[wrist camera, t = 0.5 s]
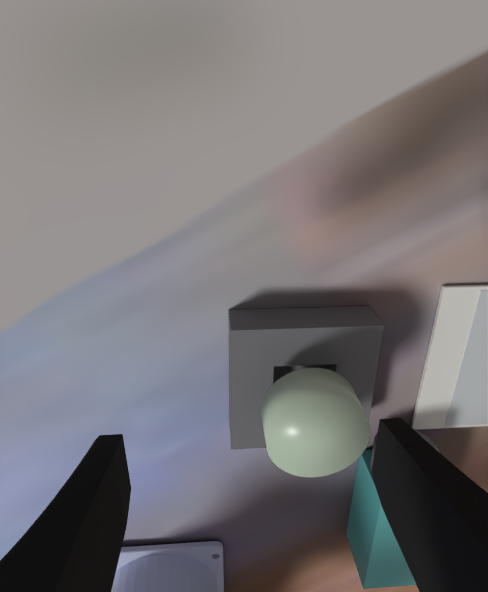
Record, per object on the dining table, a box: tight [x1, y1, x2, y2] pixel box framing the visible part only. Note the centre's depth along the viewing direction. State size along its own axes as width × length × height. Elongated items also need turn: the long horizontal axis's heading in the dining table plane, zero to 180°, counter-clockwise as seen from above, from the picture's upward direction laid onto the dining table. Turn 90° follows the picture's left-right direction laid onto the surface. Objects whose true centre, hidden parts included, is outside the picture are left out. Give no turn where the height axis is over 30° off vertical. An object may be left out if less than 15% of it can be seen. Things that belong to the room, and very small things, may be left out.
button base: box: [229, 306, 385, 449], centre depth 22 cm, size 7×7×2 cm
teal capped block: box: [346, 429, 440, 589], centre depth 26 cm, size 9×4×4 cm, turn 179°
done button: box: [261, 368, 371, 477], centre depth 20 cm, size 4×4×3 cm
